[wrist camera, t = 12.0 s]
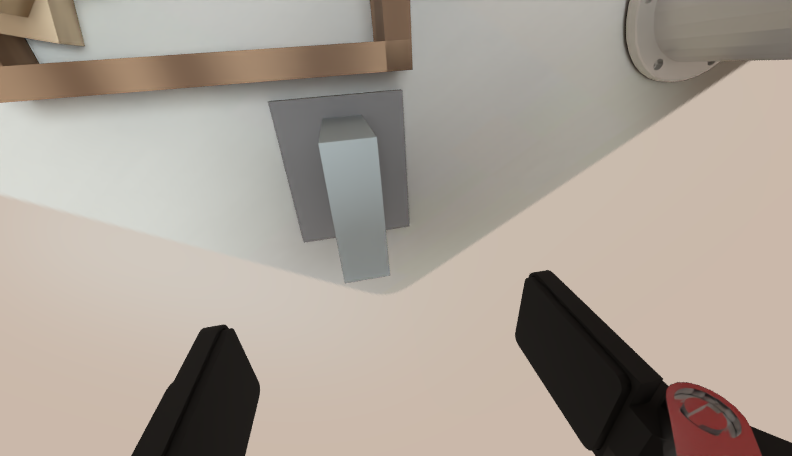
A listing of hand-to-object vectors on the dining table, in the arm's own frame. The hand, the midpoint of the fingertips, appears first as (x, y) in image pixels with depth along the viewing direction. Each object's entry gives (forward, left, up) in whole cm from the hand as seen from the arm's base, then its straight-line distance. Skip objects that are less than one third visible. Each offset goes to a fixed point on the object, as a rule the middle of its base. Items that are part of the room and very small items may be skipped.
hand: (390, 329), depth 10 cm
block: (0, 0, -18) cm, 18 cm away
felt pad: (0, 0, -18) cm, 18 cm away
